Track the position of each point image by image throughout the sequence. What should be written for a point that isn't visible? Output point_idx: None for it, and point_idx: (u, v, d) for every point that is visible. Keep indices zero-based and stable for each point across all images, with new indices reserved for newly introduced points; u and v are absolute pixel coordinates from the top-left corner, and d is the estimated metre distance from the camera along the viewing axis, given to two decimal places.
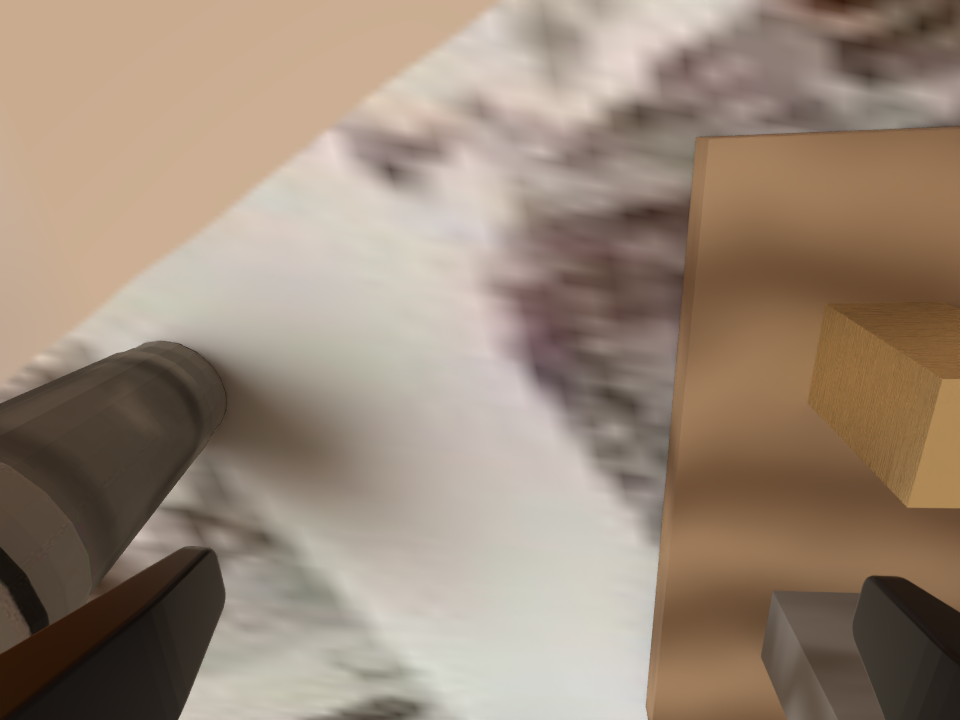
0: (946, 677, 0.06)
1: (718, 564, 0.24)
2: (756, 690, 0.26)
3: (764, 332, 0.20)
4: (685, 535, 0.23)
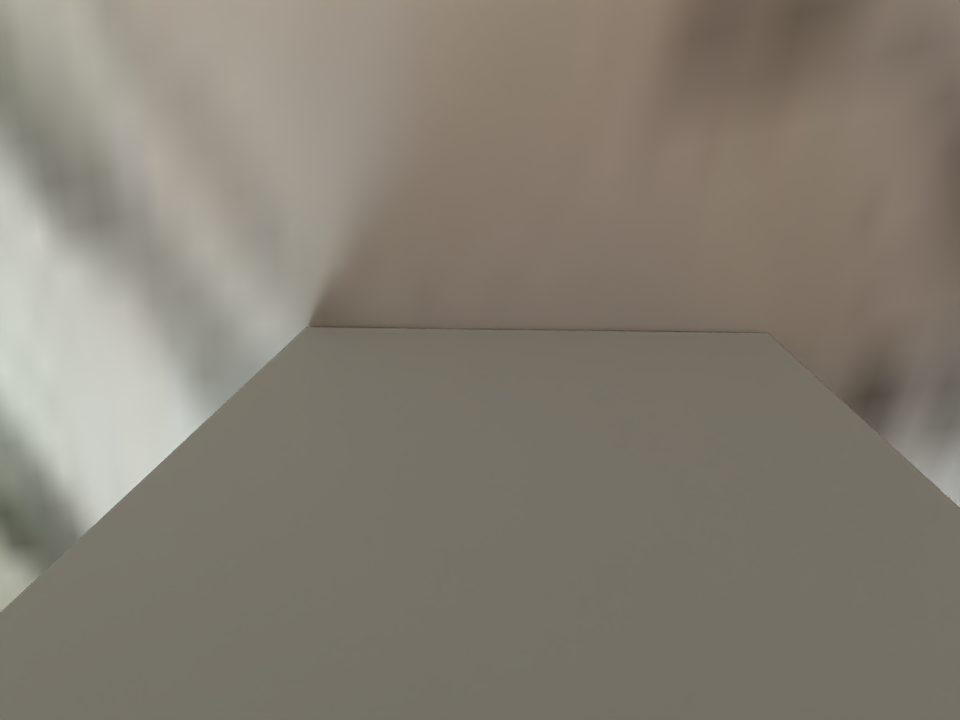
0: None
1: None
2: None
3: None
4: None
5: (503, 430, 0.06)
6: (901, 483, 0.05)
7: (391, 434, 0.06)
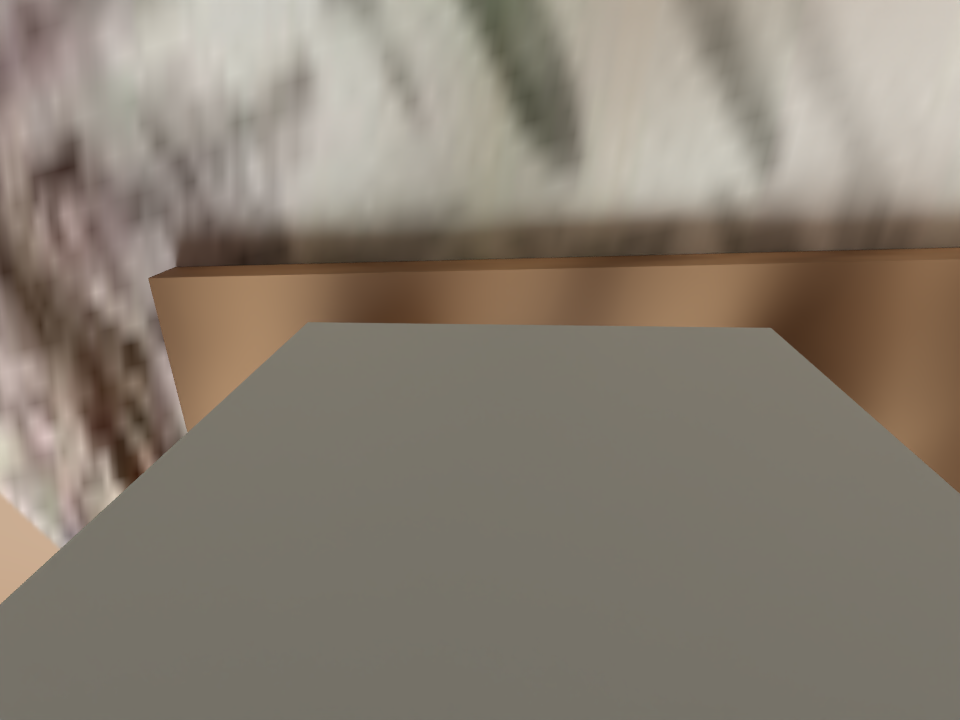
0: None
1: None
2: None
3: None
4: None
5: (506, 423, 0.06)
6: (907, 474, 0.05)
7: (394, 427, 0.06)
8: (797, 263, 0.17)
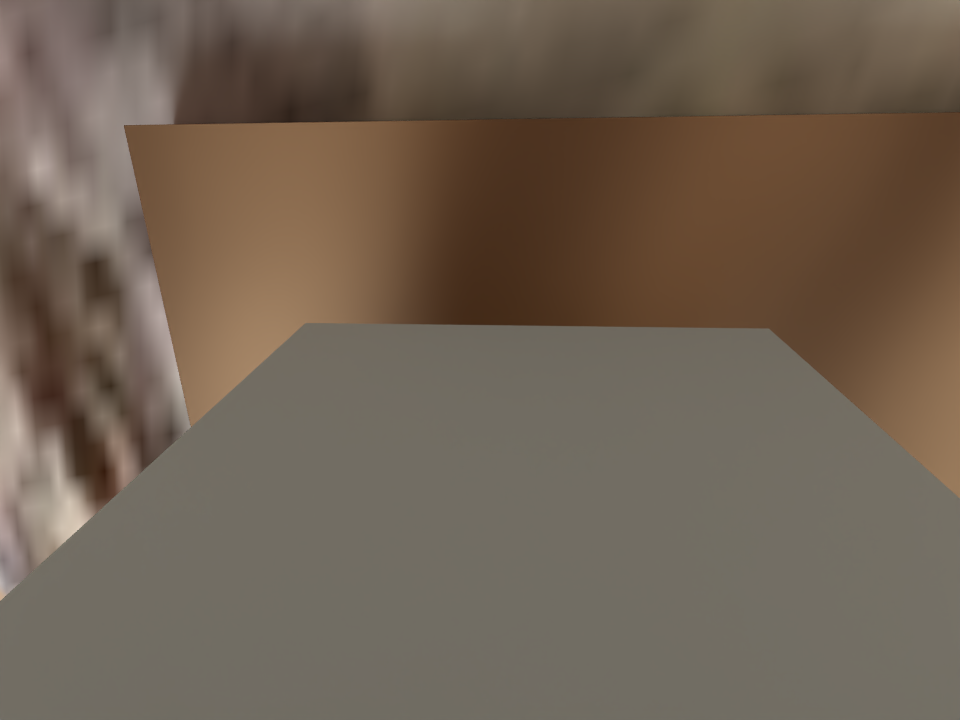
0: None
1: None
2: None
3: None
4: None
5: (503, 424, 0.06)
6: (903, 476, 0.05)
7: (390, 428, 0.06)
8: None
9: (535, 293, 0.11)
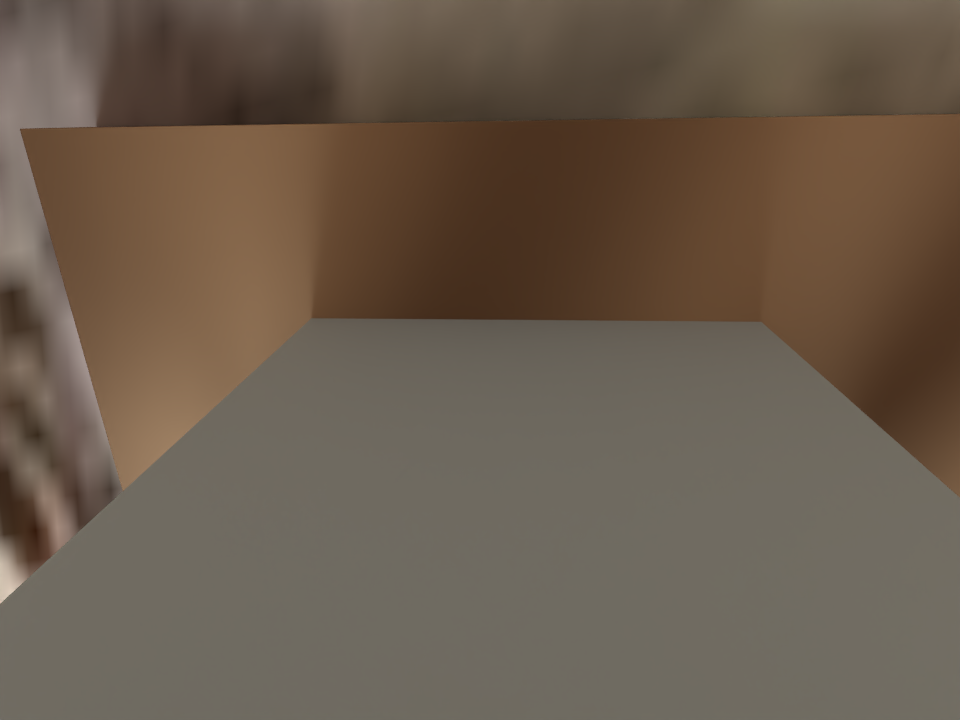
0: None
1: None
2: None
3: None
4: None
5: (503, 412, 0.06)
6: (884, 458, 0.05)
7: (396, 416, 0.06)
8: None
9: None
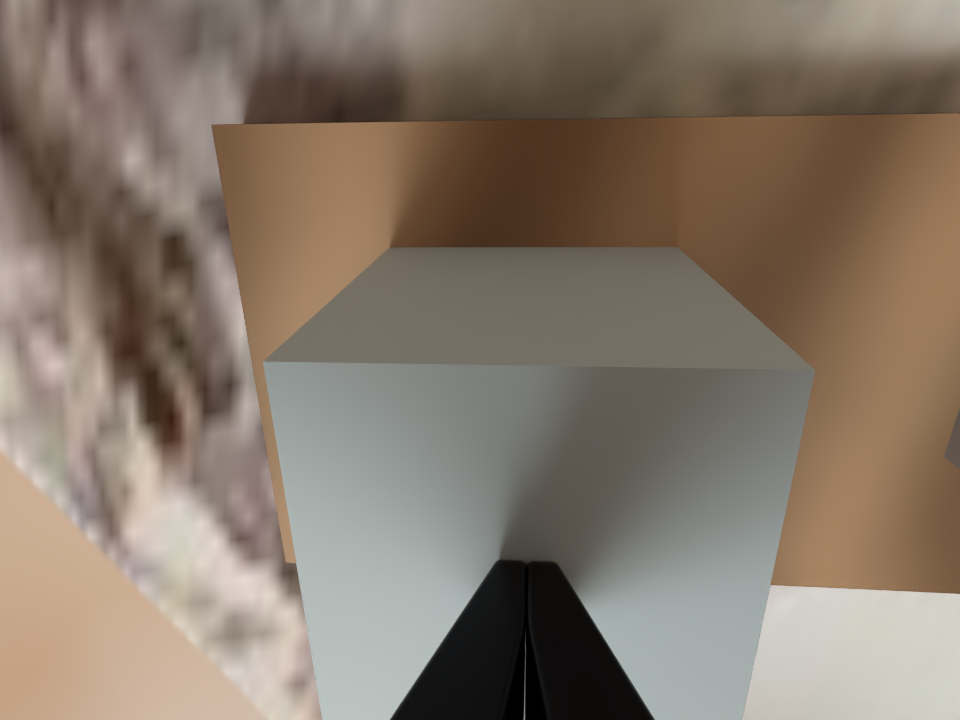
0: (528, 654, 0.07)
1: (868, 530, 0.16)
2: None
3: None
4: (803, 570, 0.16)
5: (516, 279, 0.11)
6: (710, 291, 0.10)
7: (457, 281, 0.11)
8: None
9: None
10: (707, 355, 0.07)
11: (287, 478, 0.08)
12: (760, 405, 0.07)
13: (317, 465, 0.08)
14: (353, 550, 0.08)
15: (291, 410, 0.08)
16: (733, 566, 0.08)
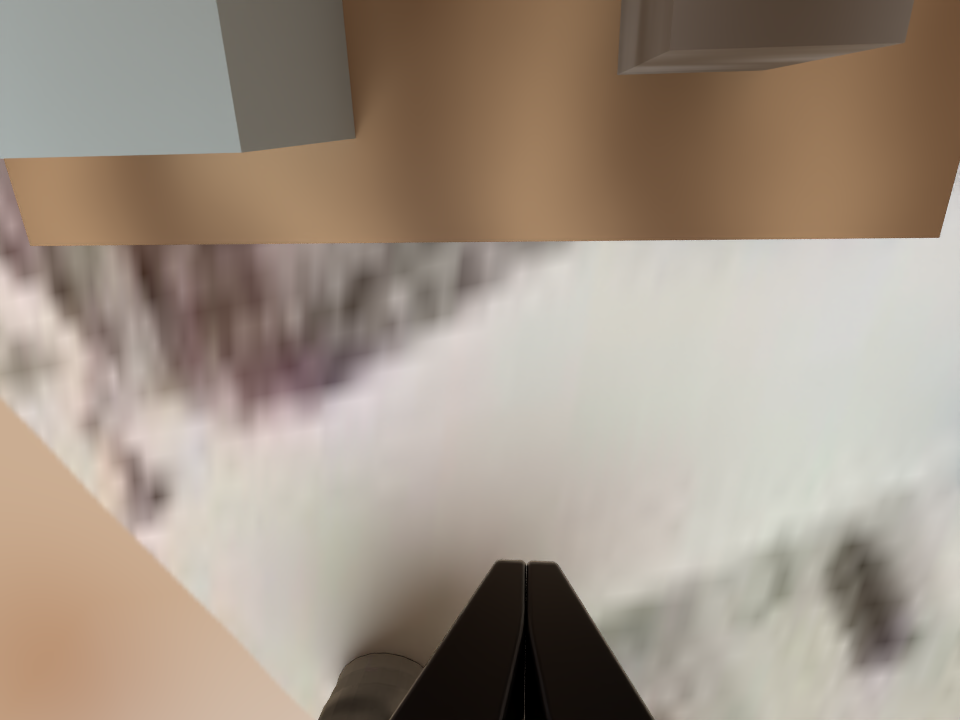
0: (528, 654, 0.07)
1: (564, 169, 0.16)
2: (847, 64, 0.15)
3: (212, 157, 0.17)
4: (512, 221, 0.17)
5: None
6: None
7: None
8: None
9: None
10: None
11: None
12: None
13: None
14: None
15: None
16: None
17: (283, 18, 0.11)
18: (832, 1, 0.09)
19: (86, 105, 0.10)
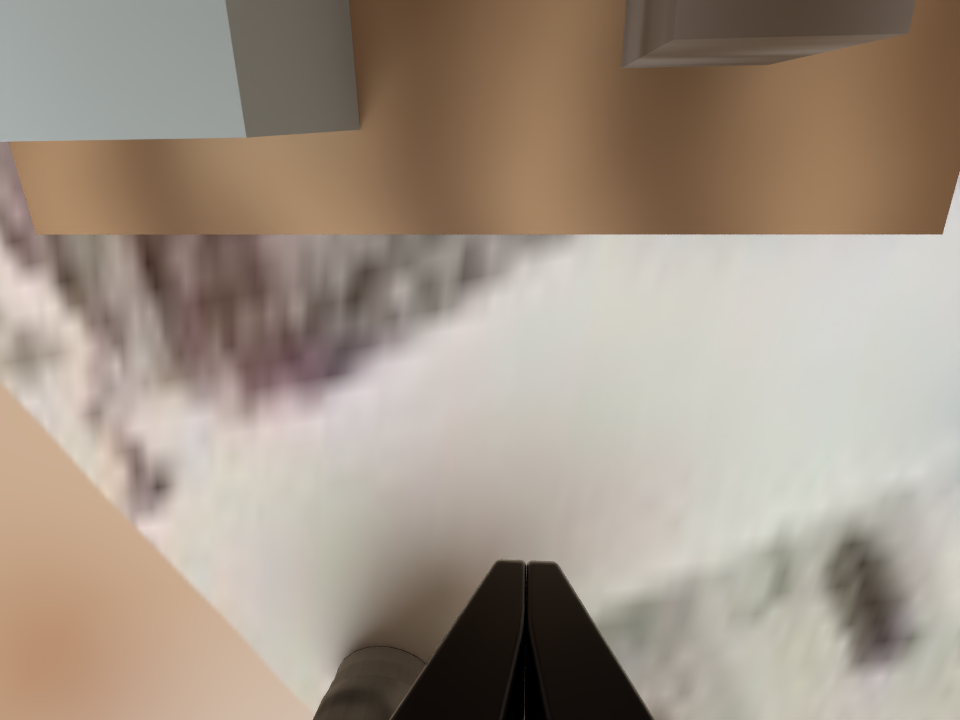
0: (528, 654, 0.07)
1: (567, 162, 0.16)
2: (852, 59, 0.15)
3: (217, 147, 0.17)
4: (515, 214, 0.17)
5: None
6: None
7: None
8: None
9: None
10: None
11: None
12: None
13: None
14: None
15: None
16: None
17: (289, 6, 0.11)
18: None
19: (92, 88, 0.10)
